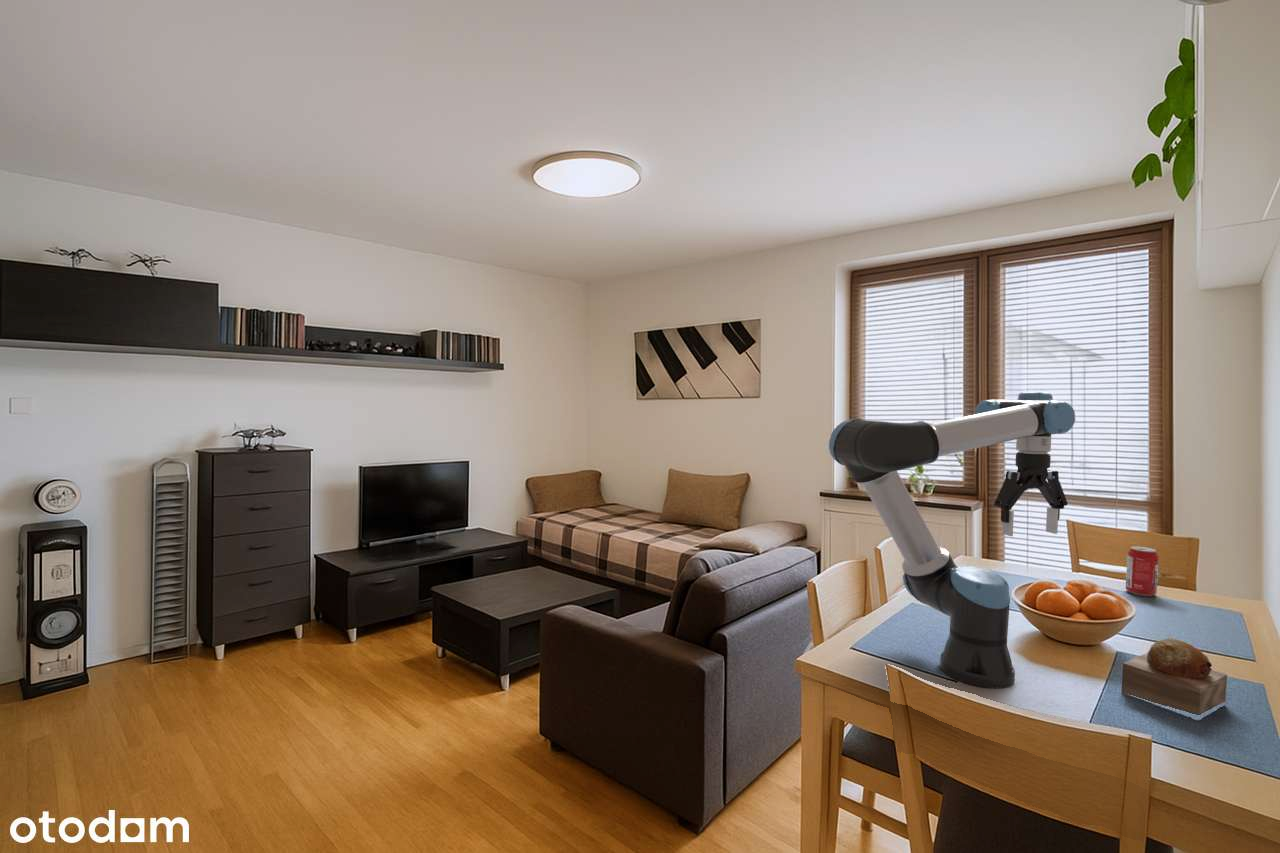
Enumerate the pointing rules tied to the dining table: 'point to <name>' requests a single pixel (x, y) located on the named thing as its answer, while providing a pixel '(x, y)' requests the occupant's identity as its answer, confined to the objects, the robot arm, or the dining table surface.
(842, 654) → the dining table surface
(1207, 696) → the walnut box
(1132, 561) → the soda can
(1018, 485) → the robot arm
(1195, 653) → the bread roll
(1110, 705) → the dining table surface
